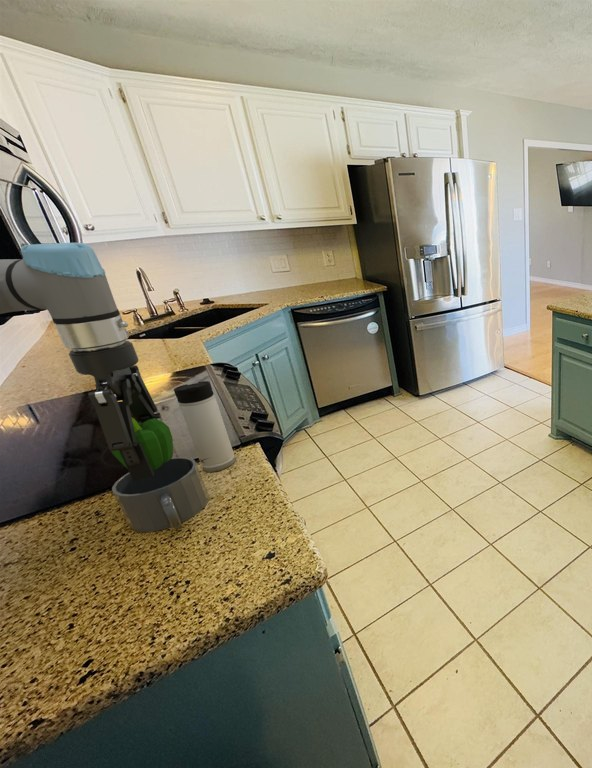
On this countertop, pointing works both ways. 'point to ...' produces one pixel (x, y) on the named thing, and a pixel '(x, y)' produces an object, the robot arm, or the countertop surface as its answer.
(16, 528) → the countertop surface
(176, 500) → the wide gray mug
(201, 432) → the travel mug
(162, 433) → the bell pepper
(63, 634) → the countertop surface
